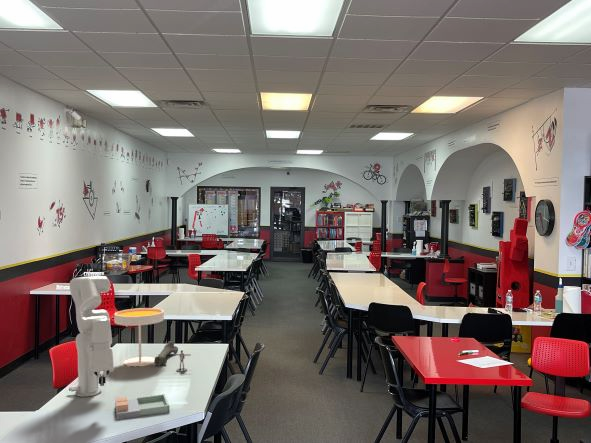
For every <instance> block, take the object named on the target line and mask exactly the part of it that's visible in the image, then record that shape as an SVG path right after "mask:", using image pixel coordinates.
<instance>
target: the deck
mask: <svg viewBox="0 0 591 443" xmlns="http://www.w3.org/2000/svg"><path fill="white" fill-rule="evenodd" d="M127 401H128V410H124V411H117V410H116V401H115V403H114V404H115V407H114V408H115V413H116V414H115V415H116V420H123V419H128V418H134V417H141V416H140V408H139V404H138V400H137V398H132V399H127Z"/></svg>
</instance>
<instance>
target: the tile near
mask: <svg viewBox="0 0 591 443" xmlns="http://www.w3.org/2000/svg"><path fill="white" fill-rule="evenodd" d="M115 402H116V401H115ZM116 410H117V411H124V410H128V401H123V402H116V408H115V411H116Z"/></svg>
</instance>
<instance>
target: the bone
mask: <svg viewBox="0 0 591 443" xmlns="http://www.w3.org/2000/svg"><path fill="white" fill-rule="evenodd" d="M178 351H179V347H178V346H175V342H174V341H171V340H169V341H168V342H167V343H166V344H165V345H164V347H163V349H162V350H161V351H160V353H159V354H158V355H157V356H155V357H154V358H155V360H154V365H155V367H161V366H165V365H167V362H168V360H167V356H168V355H170V354H178Z"/></svg>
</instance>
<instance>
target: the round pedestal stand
mask: <svg viewBox="0 0 591 443" xmlns="http://www.w3.org/2000/svg"><path fill="white" fill-rule="evenodd" d="M164 313H165V311H164V309H161V308H154V307H152V308H150V307H143V308H130V309H123V310H119V311H115V313H113V314H114V324H116V325H118V326H119V325H120V326H129V327H132V326H138V357H132V358H128V359H126V360H124V361H123V365H124V364H125V365H127V366H126V367H130V366H135V367H134V368H137V367H136V366H140V367H145V366H147V367H148V366H150V365H155V363H154V360H155V357H153V356H142V326H146V325H153V324H158V323H161V322H163V321H164V320H165V314H164ZM125 365H124V366H125Z"/></svg>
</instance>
